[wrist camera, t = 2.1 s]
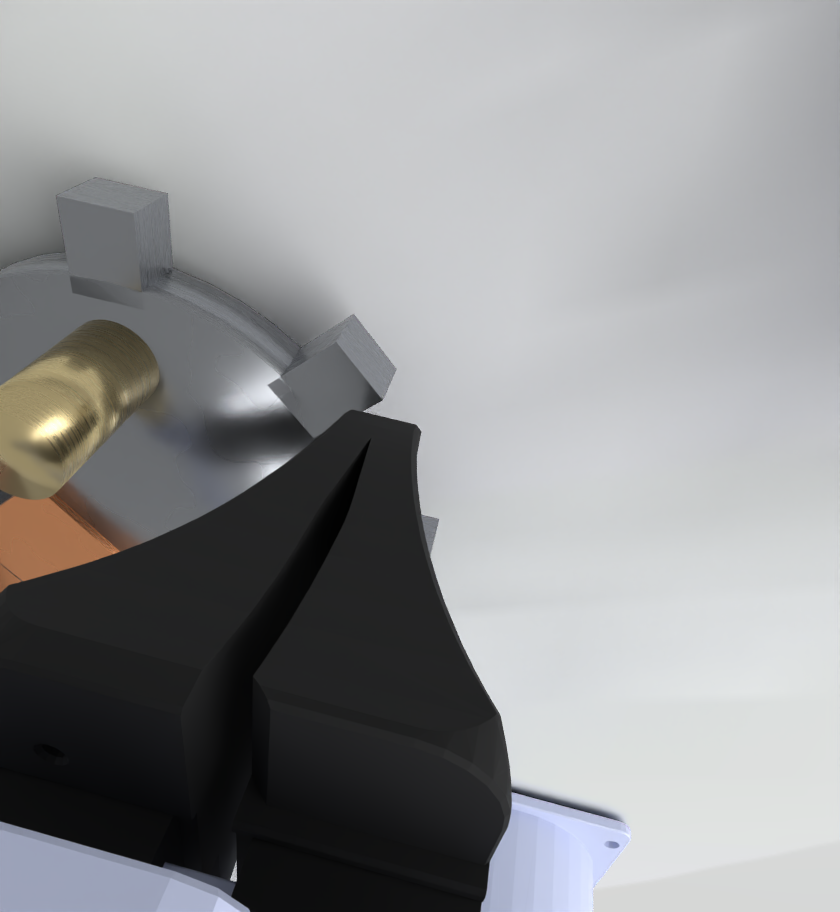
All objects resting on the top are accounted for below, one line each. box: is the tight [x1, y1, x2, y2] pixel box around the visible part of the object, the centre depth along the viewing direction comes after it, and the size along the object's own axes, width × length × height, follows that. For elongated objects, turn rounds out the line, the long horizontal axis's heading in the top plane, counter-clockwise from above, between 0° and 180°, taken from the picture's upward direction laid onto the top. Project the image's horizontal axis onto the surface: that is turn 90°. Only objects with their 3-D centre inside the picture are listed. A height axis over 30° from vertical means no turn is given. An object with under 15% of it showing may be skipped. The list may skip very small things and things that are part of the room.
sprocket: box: [0, 177, 439, 593], centre depth 15 cm, size 14×14×4 cm
